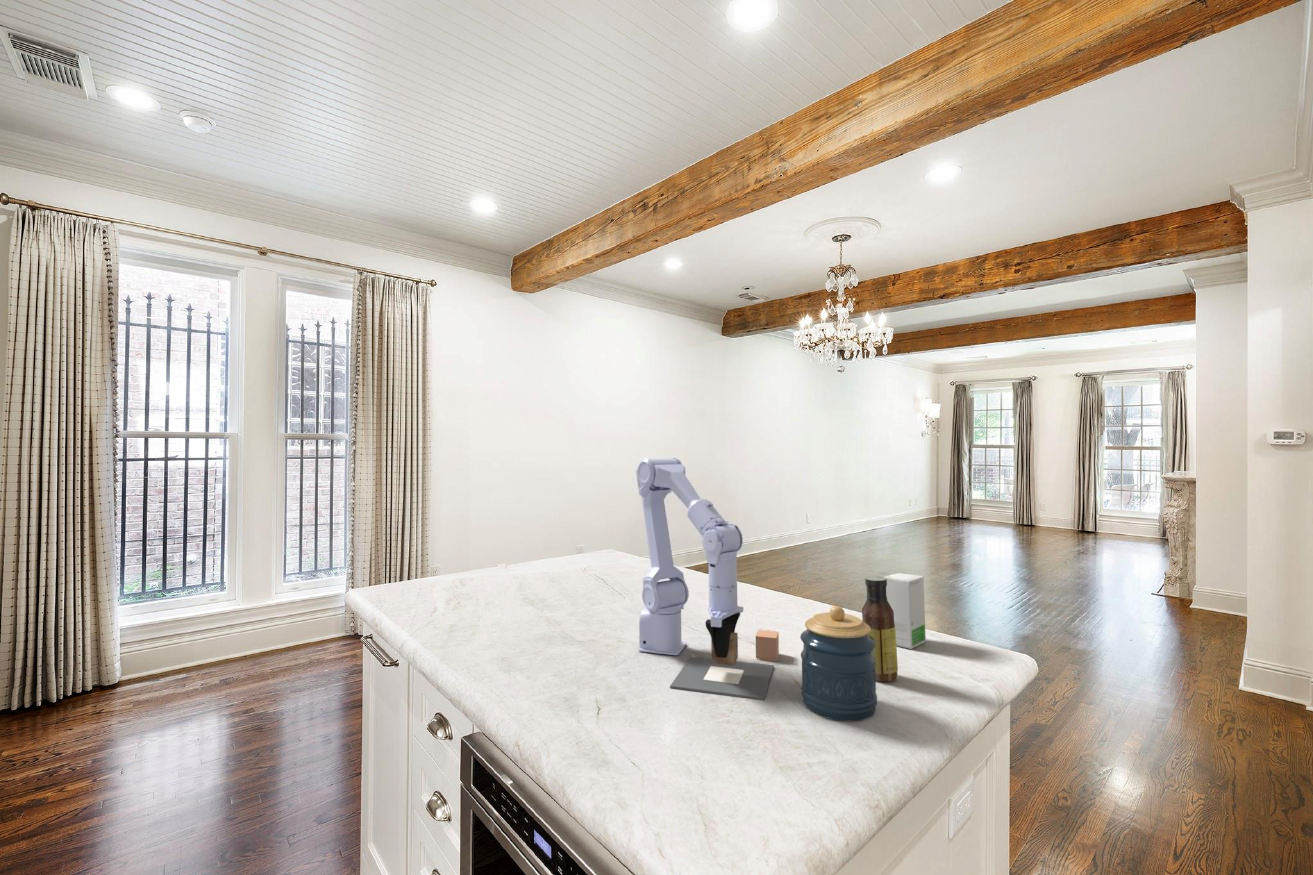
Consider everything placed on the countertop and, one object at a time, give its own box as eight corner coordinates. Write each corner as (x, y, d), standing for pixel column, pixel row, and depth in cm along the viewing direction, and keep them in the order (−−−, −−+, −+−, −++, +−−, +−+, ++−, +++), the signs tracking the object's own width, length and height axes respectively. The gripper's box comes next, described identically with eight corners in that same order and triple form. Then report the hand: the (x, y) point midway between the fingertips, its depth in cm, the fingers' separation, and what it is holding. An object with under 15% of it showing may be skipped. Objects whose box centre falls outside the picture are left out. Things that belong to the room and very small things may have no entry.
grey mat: (670, 687, 107) (670, 685, 107) (690, 657, 122) (690, 655, 122) (764, 700, 101) (764, 697, 101) (773, 667, 117) (773, 664, 117)
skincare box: (911, 650, 125) (909, 581, 126) (882, 642, 130) (881, 576, 131) (926, 641, 131) (925, 575, 131) (899, 634, 136) (898, 571, 136)
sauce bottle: (896, 673, 113) (894, 575, 113) (899, 685, 107) (897, 582, 107) (862, 669, 115) (860, 573, 115) (863, 681, 109) (861, 580, 110)
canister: (869, 730, 90) (867, 621, 91) (791, 711, 97) (790, 610, 98) (883, 699, 101) (881, 602, 102) (813, 683, 108) (811, 593, 109)
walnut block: (711, 662, 110) (711, 637, 110) (716, 654, 115) (715, 630, 115) (734, 665, 109) (733, 639, 109) (737, 657, 113) (737, 632, 113)
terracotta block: (755, 658, 121) (755, 636, 122) (758, 651, 126) (758, 629, 126) (776, 661, 120) (776, 638, 120) (778, 653, 124) (778, 631, 124)
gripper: (736, 595, 104) (737, 667, 104) (748, 578, 118) (749, 642, 117) (699, 592, 106) (700, 663, 106) (715, 576, 120) (716, 639, 120)
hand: (723, 652), depth 112 cm, fingers closed on walnut block, 4 cm apart
